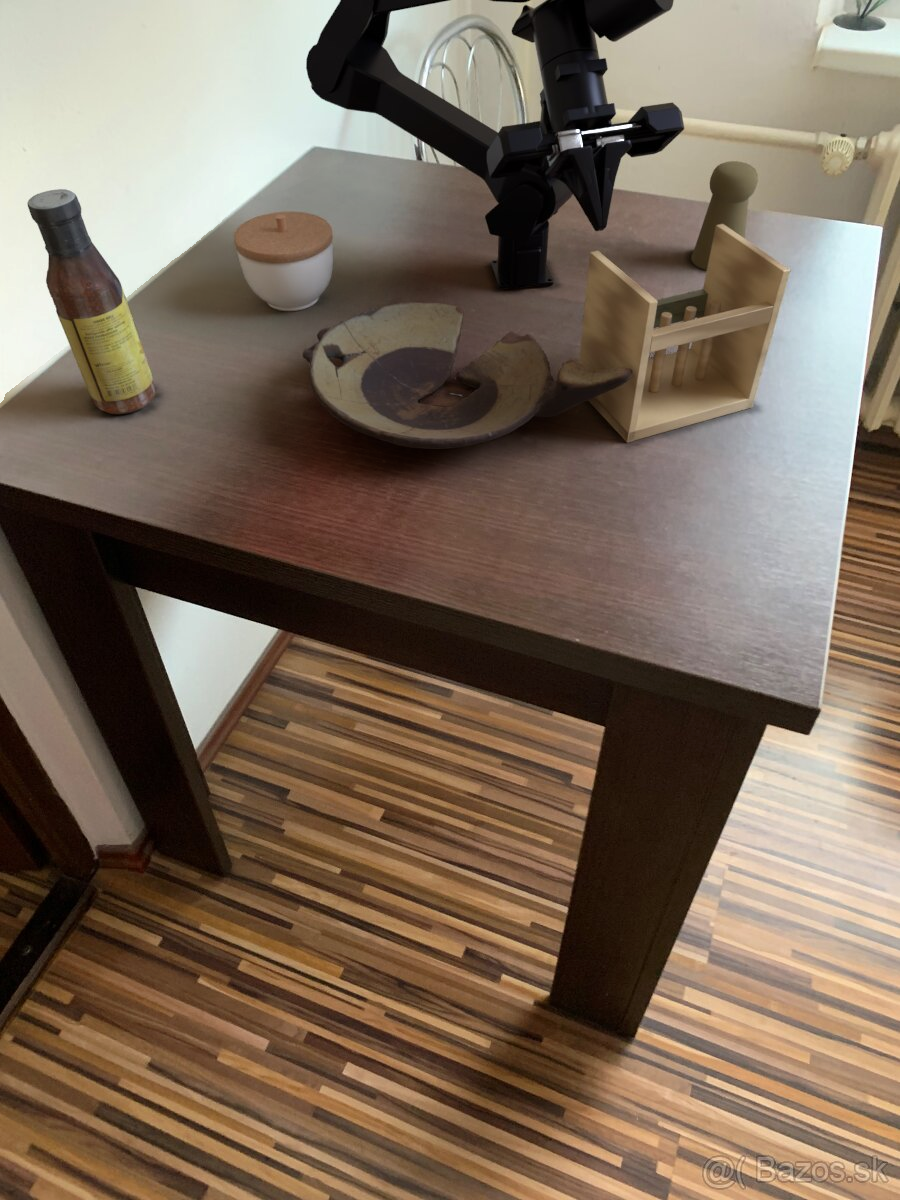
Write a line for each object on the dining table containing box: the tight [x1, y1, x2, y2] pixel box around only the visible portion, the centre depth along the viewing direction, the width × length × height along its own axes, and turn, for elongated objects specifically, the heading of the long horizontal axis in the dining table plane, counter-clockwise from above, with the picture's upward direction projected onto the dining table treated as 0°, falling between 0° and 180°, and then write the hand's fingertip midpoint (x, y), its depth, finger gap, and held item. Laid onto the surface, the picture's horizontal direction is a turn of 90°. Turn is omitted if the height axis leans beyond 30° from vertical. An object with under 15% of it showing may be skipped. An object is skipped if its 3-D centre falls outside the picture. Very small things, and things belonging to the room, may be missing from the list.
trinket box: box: [233, 211, 334, 312], centre depth 98 cm, size 11×11×9 cm
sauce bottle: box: [27, 188, 156, 415], centre depth 81 cm, size 7×6×20 cm
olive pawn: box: [691, 160, 759, 271], centre depth 103 cm, size 6×6×11 cm
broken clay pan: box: [302, 301, 632, 450], centre depth 83 cm, size 22×30×8 cm
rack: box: [578, 224, 791, 444], centre depth 82 cm, size 10×14×14 cm
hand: (600, 229), depth 87 cm, fingers closed
